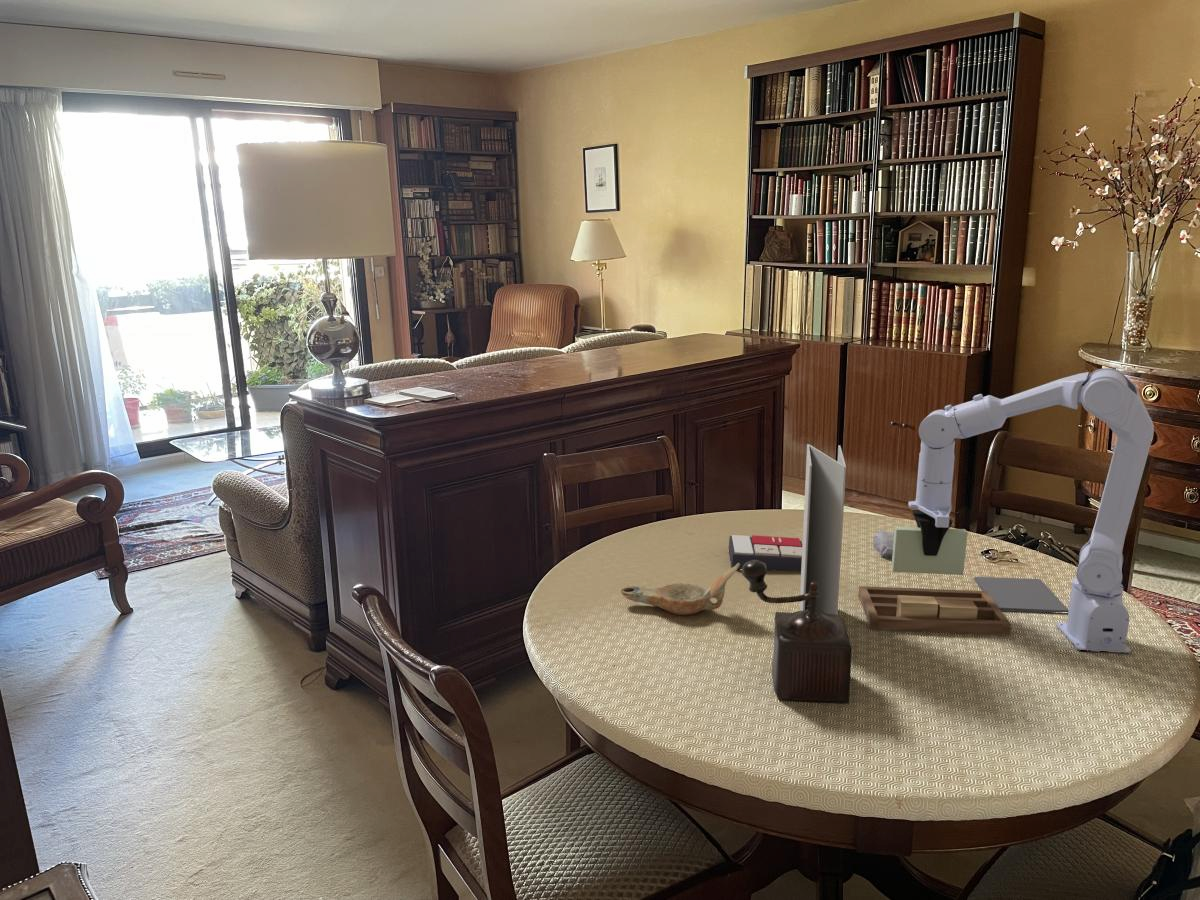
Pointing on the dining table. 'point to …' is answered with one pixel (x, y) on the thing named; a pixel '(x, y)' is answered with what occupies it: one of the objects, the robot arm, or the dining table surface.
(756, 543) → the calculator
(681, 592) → the oil lamp
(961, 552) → the pale green rectangular block
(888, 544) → the stone block
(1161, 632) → the dining table surface
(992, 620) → the rack
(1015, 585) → the mat
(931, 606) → the offcut
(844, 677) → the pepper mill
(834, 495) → the brochure
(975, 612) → the offcut
